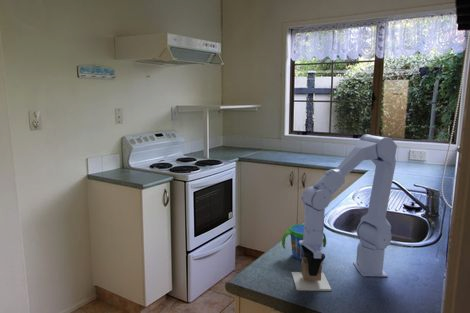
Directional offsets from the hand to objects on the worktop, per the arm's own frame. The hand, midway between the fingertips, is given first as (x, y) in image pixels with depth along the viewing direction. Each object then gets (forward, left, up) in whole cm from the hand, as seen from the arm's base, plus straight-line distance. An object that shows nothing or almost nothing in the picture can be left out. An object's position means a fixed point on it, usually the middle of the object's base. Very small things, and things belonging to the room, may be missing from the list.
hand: (311, 270), depth 110 cm
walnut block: (0, 0, -2) cm, 2 cm away
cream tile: (0, 0, -4) cm, 4 cm away
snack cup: (-18, +1, -4) cm, 18 cm away
